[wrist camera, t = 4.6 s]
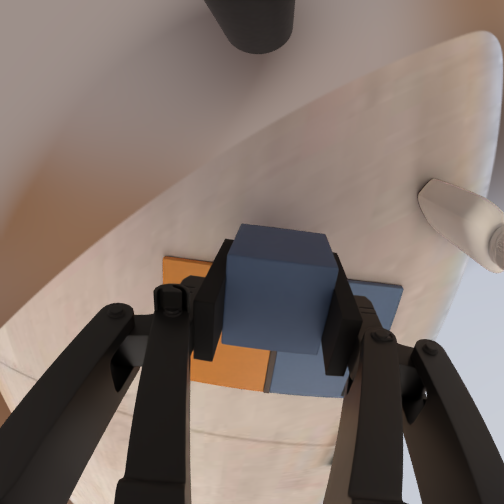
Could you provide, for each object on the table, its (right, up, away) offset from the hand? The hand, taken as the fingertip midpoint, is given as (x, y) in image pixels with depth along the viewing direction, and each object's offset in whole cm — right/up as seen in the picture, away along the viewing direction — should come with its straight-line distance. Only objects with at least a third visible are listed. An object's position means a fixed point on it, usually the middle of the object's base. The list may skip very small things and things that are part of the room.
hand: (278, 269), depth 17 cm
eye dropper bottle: (+14, +4, +5) cm, 15 cm away
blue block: (0, 0, 0) cm, 0 cm away
